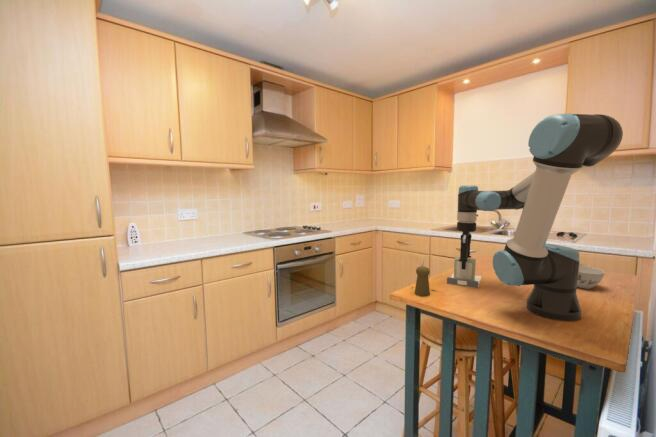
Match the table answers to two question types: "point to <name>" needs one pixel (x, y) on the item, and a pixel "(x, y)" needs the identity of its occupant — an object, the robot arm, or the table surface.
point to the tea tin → (470, 269)
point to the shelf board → (464, 281)
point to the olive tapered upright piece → (422, 282)
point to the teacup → (589, 277)
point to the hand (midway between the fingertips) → (464, 274)
